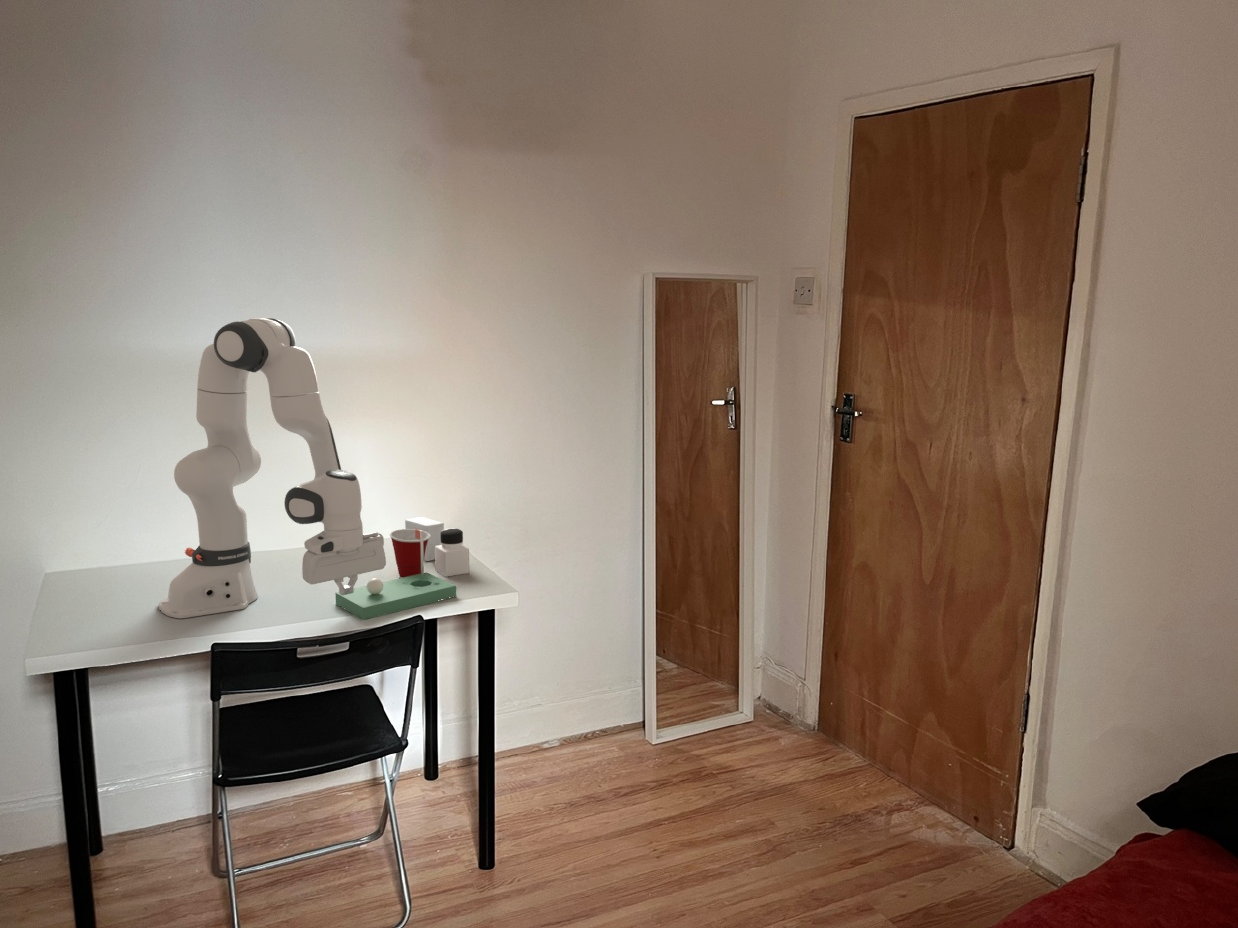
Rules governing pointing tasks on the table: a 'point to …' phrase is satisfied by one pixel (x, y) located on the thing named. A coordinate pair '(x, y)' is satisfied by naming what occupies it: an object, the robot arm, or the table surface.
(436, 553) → the medicine bottle
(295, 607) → the table surface
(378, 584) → the ball
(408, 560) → the plastic cup
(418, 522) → the skincare box
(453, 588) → the putting deck
